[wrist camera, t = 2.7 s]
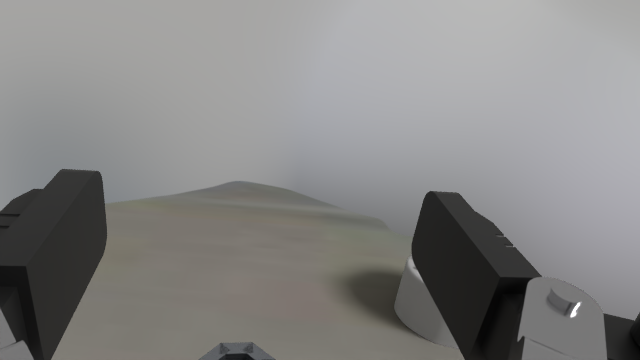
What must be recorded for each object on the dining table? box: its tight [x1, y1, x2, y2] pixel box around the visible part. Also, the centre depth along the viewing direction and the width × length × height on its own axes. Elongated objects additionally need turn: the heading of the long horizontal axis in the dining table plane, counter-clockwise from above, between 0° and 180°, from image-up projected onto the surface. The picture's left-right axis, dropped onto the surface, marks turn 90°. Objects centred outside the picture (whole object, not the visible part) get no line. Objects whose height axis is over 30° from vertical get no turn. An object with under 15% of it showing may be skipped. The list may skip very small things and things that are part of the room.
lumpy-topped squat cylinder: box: [394, 255, 459, 349], centre depth 54 cm, size 10×13×9 cm
